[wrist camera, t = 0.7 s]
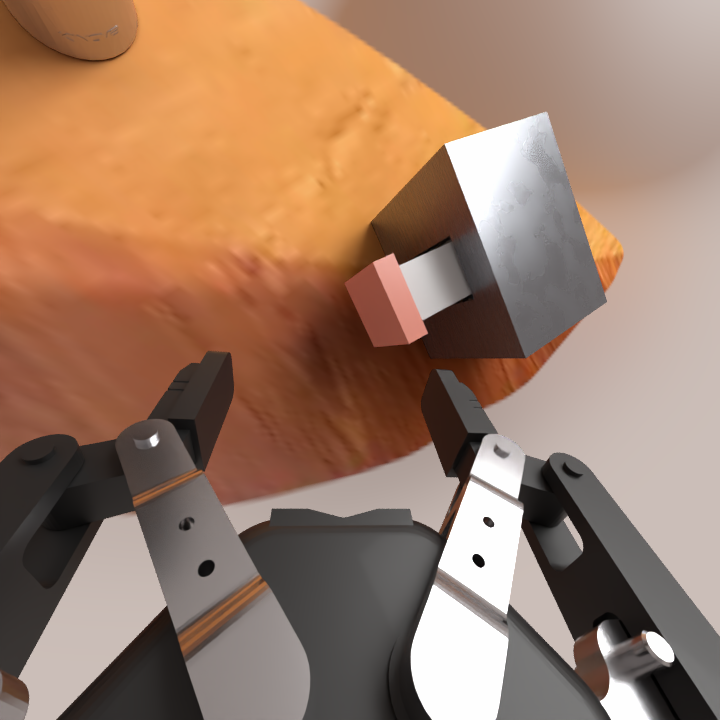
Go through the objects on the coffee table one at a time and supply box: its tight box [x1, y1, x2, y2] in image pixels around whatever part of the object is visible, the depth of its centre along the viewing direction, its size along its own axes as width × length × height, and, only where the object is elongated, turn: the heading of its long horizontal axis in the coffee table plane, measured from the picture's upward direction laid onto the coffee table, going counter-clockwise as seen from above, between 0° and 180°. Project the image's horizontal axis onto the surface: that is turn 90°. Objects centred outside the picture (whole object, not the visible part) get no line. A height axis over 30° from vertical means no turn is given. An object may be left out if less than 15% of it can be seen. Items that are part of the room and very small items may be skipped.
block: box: [371, 112, 607, 359], centre depth 33 cm, size 18×12×14 cm, turn 27°
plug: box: [344, 242, 472, 347], centre depth 30 cm, size 7×14×7 cm, turn 117°
